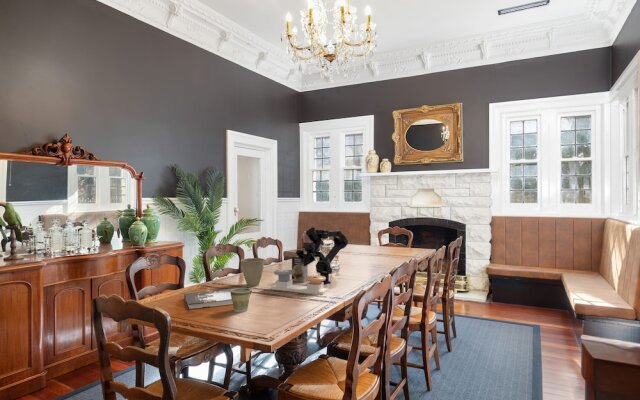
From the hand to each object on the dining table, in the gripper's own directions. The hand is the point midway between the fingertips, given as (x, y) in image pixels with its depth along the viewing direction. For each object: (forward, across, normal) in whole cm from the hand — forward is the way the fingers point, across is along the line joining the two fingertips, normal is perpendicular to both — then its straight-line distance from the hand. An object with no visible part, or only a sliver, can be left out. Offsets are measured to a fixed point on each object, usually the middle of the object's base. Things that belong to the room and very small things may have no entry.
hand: (304, 266), depth 245 cm
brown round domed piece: (+9, +10, +7) cm, 15 cm away
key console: (+12, -1, +7) cm, 14 cm away
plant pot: (+16, -34, +4) cm, 38 cm away
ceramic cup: (+47, +1, -26) cm, 54 cm away
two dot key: (+11, -11, +2) cm, 15 cm away
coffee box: (-2, -17, +22) cm, 27 cm away
